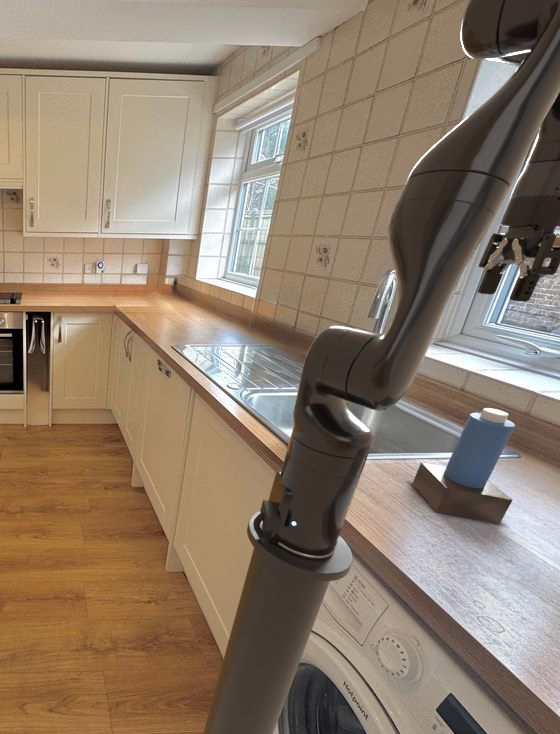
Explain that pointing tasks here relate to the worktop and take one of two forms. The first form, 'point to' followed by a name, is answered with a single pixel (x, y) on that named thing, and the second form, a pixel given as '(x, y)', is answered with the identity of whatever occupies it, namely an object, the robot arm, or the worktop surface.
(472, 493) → the walnut block
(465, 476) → the blue bottle
